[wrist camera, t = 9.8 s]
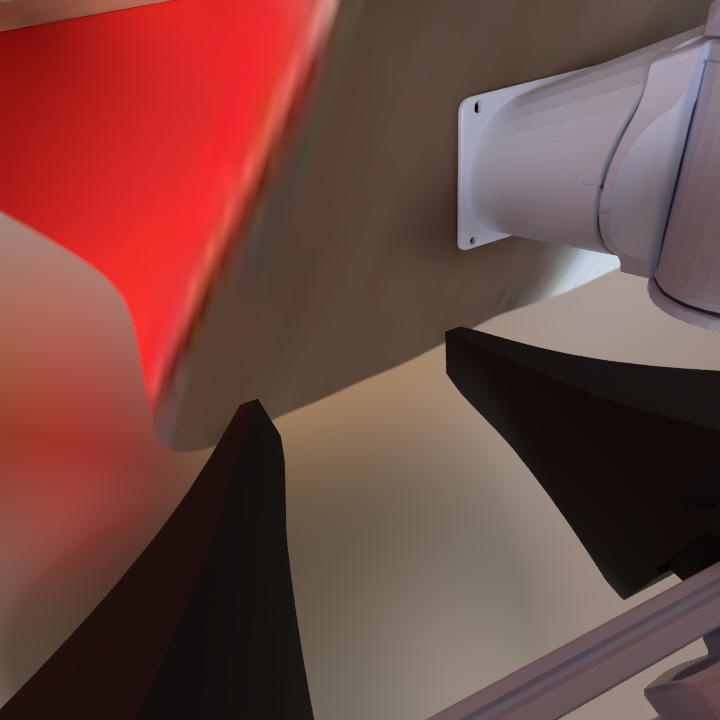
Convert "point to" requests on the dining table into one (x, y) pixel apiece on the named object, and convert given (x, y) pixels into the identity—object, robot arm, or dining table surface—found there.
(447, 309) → the dining table surface
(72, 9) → the pin board
